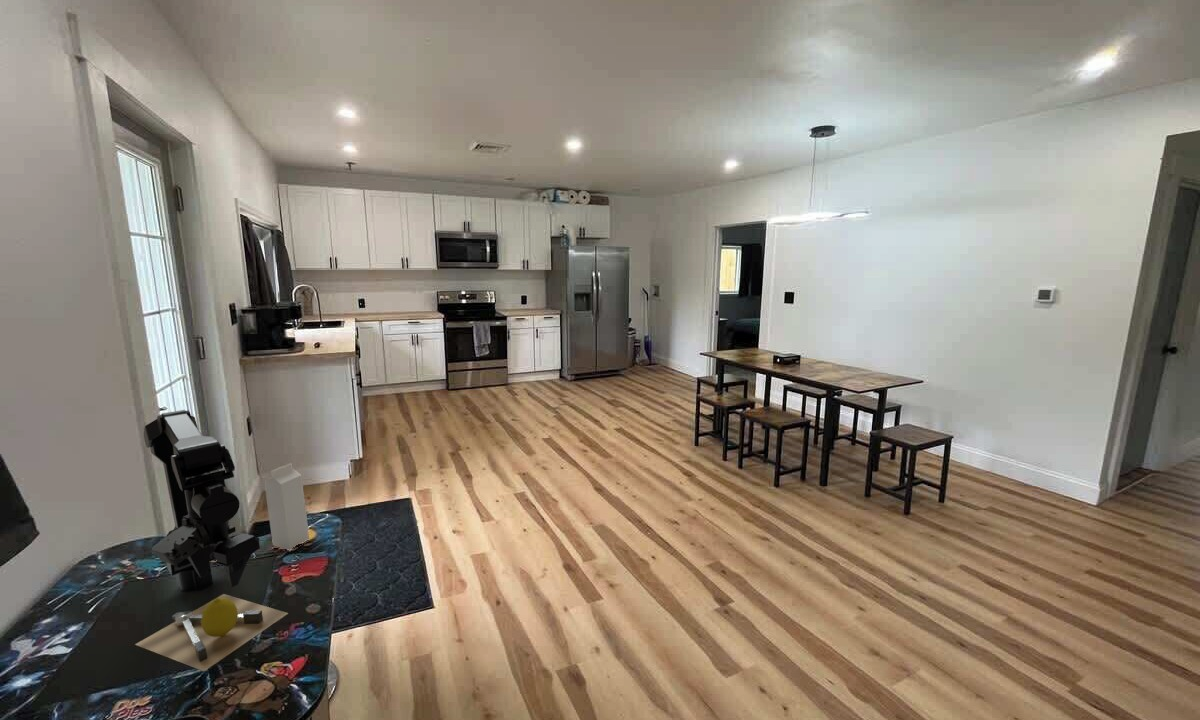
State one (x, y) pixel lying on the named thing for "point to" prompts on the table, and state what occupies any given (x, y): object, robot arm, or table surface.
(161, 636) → the board
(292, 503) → the milk
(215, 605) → the lemon
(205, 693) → the table surface
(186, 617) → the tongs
